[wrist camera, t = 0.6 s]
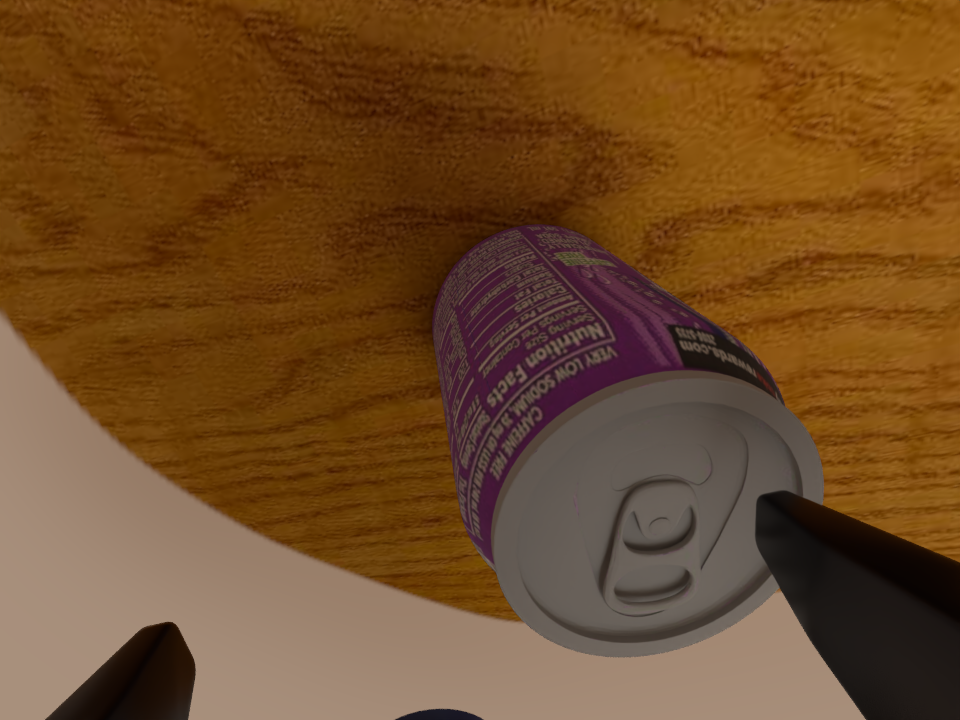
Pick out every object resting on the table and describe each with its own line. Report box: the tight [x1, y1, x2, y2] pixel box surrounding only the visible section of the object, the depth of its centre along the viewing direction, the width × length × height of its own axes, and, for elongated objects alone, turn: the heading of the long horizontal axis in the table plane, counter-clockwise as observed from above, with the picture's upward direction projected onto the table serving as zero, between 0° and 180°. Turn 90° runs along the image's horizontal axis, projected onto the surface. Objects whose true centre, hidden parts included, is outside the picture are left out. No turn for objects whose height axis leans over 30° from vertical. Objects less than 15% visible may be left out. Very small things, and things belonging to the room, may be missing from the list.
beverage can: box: [432, 224, 824, 657], centre depth 16 cm, size 7×7×12 cm
